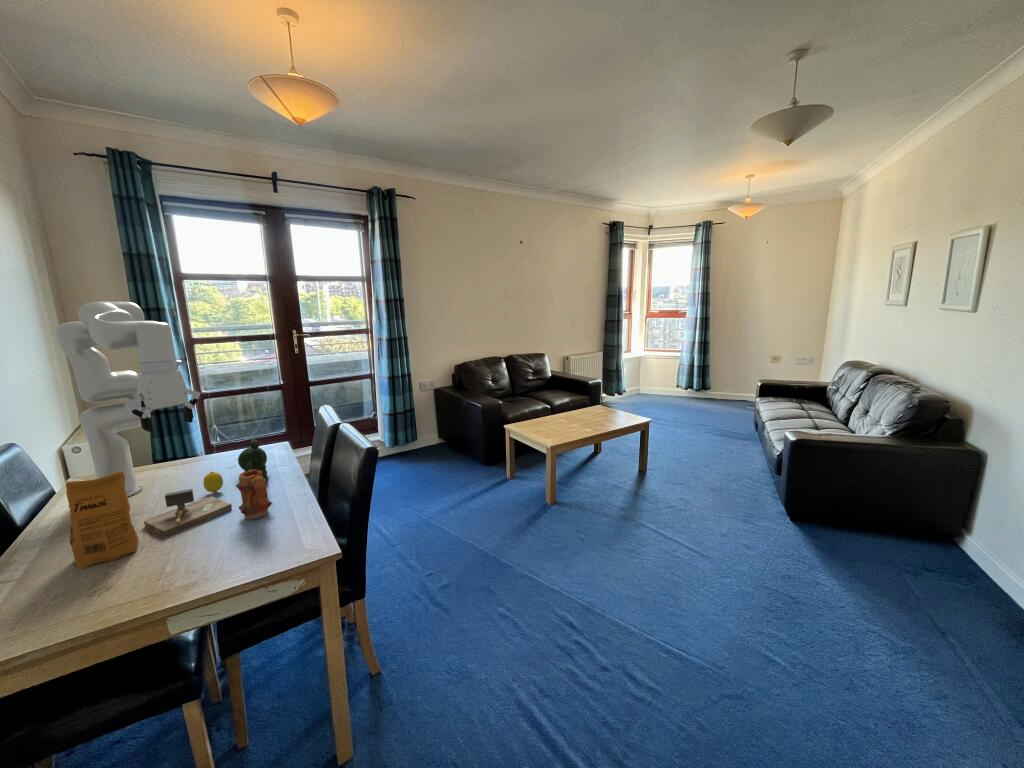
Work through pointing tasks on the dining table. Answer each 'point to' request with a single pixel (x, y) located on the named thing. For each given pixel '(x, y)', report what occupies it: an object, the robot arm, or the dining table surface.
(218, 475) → the lemon
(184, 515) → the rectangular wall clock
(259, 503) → the orange lumpy cylinder
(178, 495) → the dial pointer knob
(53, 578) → the dining table surface
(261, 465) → the toy figurine
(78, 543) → the coffee package
